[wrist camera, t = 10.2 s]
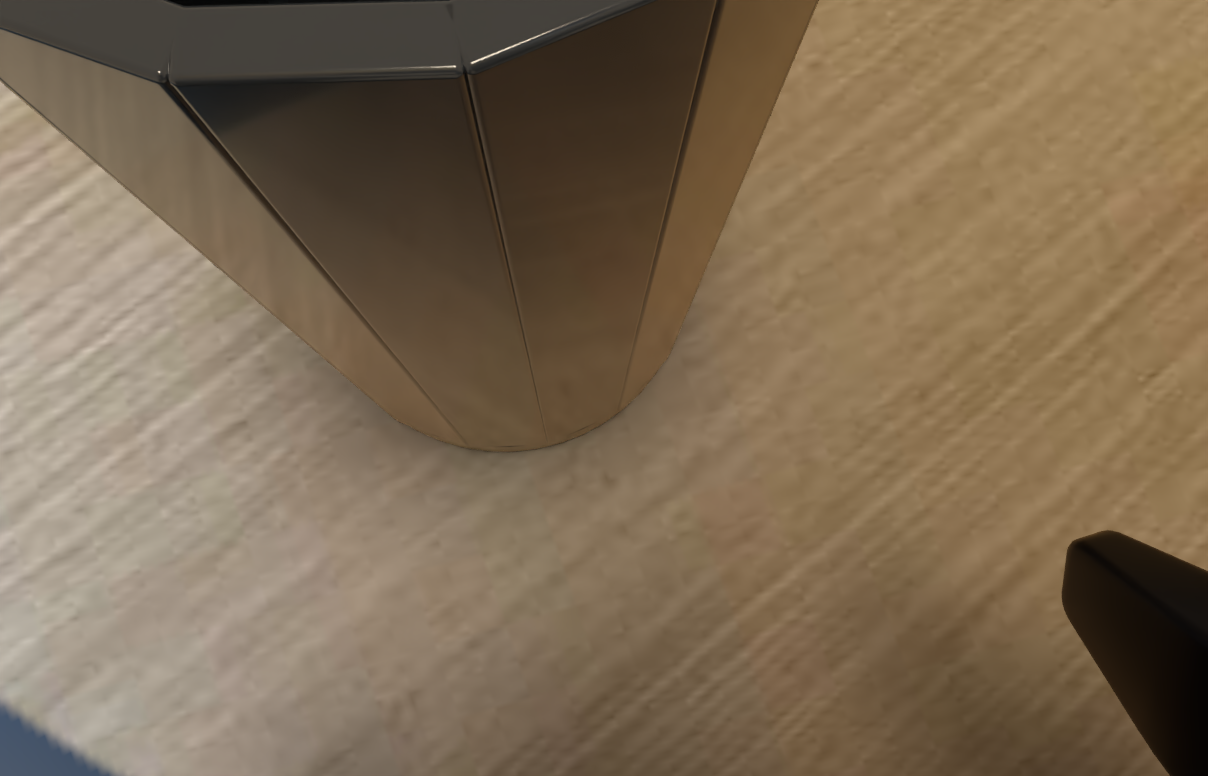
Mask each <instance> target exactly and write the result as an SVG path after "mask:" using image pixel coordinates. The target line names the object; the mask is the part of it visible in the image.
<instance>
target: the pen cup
mask: <svg viewBox="0 0 1208 776" xmlns="http://www.w3.org/2000/svg"><path fill="white" fill-rule="evenodd" d="M818 1H819V0H0V82H2V83H3V84H4V85H5V86H6V87H7V88H9V89H10V90H11V91H12V92H13V93H14V94H16V95H17V96H18V97H19V98H20V99H21V100H23V101H24V102H25V103H26V104H27V105H28V106H30V107H31V108H32V109H33V110H34V111H35V112H37V113H38V114H39V115H40V116H41V117H42V118H44V119H45V120H46V121H47V122H48V123H49V124H51V125H52V126H53V127H54V128H55V129H56V130H58V131H59V132H60V133H61V134H62V135H63V136H65V137H66V138H67V139H68V140H69V141H70V142H72V143H73V144H74V145H75V146H76V147H77V148H79V149H80V150H81V151H82V152H83V153H84V154H86V155H87V156H88V157H89V158H90V159H91V160H93V161H94V162H95V163H96V164H97V165H98V166H100V167H101V168H102V169H103V170H104V171H105V172H107V173H108V174H109V175H110V176H111V177H112V178H114V179H115V180H116V181H117V182H118V183H119V184H121V185H122V186H123V187H124V188H125V189H126V190H128V191H129V192H130V193H131V194H132V195H133V196H135V197H136V198H137V199H138V200H139V201H140V202H142V203H143V204H144V205H145V206H146V207H147V208H149V209H150V210H151V211H152V212H153V213H154V214H156V215H157V216H158V217H159V218H160V219H161V220H163V221H164V222H165V223H166V224H167V225H168V226H170V227H171V228H172V229H173V230H174V231H175V232H177V233H178V234H179V235H180V236H181V237H182V238H184V239H185V240H186V241H187V242H188V243H189V244H191V245H192V246H193V247H194V248H195V249H196V250H198V251H199V252H200V253H201V254H202V255H203V256H205V257H206V258H207V259H208V260H209V261H210V262H212V263H213V264H214V265H215V266H216V267H217V268H219V269H220V270H221V271H222V272H223V273H224V274H226V275H227V276H228V277H229V278H230V279H231V280H233V281H234V282H235V283H236V284H237V285H238V286H240V287H241V288H242V289H243V290H244V291H245V292H247V293H248V294H249V295H250V296H251V297H252V298H254V299H255V300H256V301H257V302H258V303H259V304H261V305H262V306H263V307H264V308H265V309H266V310H268V311H269V312H270V313H271V314H272V315H273V316H275V317H276V318H277V319H278V320H279V321H280V322H282V323H283V324H284V325H285V326H286V327H287V328H289V329H290V330H291V331H292V332H293V333H294V334H296V335H297V336H298V337H299V338H300V339H301V340H303V341H304V342H305V343H306V344H307V345H308V346H310V347H311V348H312V349H313V350H314V351H315V352H317V353H318V354H319V355H320V356H321V357H322V358H324V359H325V360H326V361H327V362H328V363H329V364H331V365H332V366H333V367H334V368H335V369H336V370H338V371H339V372H340V373H341V374H342V375H343V376H345V377H346V378H347V379H348V380H349V381H350V382H352V383H353V384H354V385H355V386H356V387H357V388H359V389H360V390H361V391H362V392H363V393H364V394H366V395H367V396H368V397H369V398H370V399H372V400H373V401H374V402H375V403H376V404H377V405H379V406H380V407H381V408H382V409H383V410H384V411H386V412H387V413H388V414H389V415H390V416H391V417H393V418H394V419H395V420H397V421H399V422H400V423H403V424H405V425H408V426H410V427H412V428H413V429H415V430H416V431H418V432H421V433H423V434H425V435H428V436H430V437H432V438H434V439H437V440H439V441H442V442H445V443H449V444H452V445H456V446H459V447H463V448H469V449H476V450H482V451H498V452H514V451H524V450H533V449H539V448H543V447H547V446H551V445H555V444H559V443H562V442H565V441H568V440H570V439H573V438H575V437H578V436H581V435H583V434H585V433H587V432H589V431H590V430H592V429H594V428H596V427H598V426H600V425H601V424H603V423H605V422H606V421H608V420H609V419H610V418H612V417H613V416H615V415H616V414H617V413H619V412H620V411H621V410H623V409H624V408H625V407H626V406H627V405H628V404H629V403H630V402H631V401H633V400H634V399H635V398H636V397H637V396H638V395H639V394H640V393H641V392H642V391H643V389H644V388H645V387H646V386H647V384H648V383H649V382H650V381H651V379H652V378H653V377H654V376H655V374H656V373H657V371H658V370H659V368H660V366H661V365H662V364H663V363H664V362H665V361H666V360H667V358H668V356H669V355H670V353H671V351H672V349H673V346H674V344H675V341H676V339H677V337H678V334H679V332H680V329H681V327H682V325H683V322H684V320H685V318H686V315H687V313H688V310H689V308H690V306H691V303H692V301H693V299H694V296H695V294H696V291H697V289H698V287H699V284H700V282H701V280H702V277H703V275H704V272H705V270H706V268H707V265H708V263H709V261H710V258H711V256H712V253H713V251H714V249H715V246H716V244H717V242H718V239H719V237H720V234H721V232H722V230H723V227H724V225H725V223H726V220H727V218H728V215H729V213H730V211H731V208H732V206H733V204H734V201H735V199H736V196H737V194H738V192H739V189H740V187H741V184H742V182H743V180H744V177H745V175H746V173H747V170H748V168H749V165H750V163H751V161H752V158H753V156H754V154H755V151H756V149H757V146H758V144H759V142H760V139H761V137H762V135H763V132H764V130H765V127H766V125H767V123H768V120H769V118H770V116H771V113H772V111H773V108H774V106H775V104H776V101H777V99H778V97H779V94H780V92H781V89H782V87H783V85H784V82H785V80H786V78H787V75H788V73H789V70H790V68H791V66H792V63H793V61H794V59H795V56H796V54H797V51H798V49H799V47H800V44H801V42H802V39H803V37H804V35H805V32H806V30H807V28H808V25H809V23H810V20H811V18H812V16H813V13H814V11H815V9H816V6H817V4H818Z"/></svg>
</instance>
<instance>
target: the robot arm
mask: <svg viewBox="0 0 1208 776" xmlns="http://www.w3.org/2000/svg"><path fill="white" fill-rule="evenodd" d="M1062 602H1063V607H1064V610H1065V612H1066V615H1067V617H1068V619H1069V620H1070V622H1071V624H1072V625H1073V627H1074V629H1075V630H1076V632H1077V633H1078V635H1079V637H1080V638H1081V640H1082V641H1083V643H1084V645H1085V646H1086V648H1087V649H1088V651H1089V653H1090V654H1091V656H1092V657H1093V659H1094V660H1095V662H1096V664H1097V665H1098V667H1099V668H1100V670H1101V672H1102V673H1103V675H1104V676H1105V678H1106V680H1107V681H1108V683H1109V684H1110V686H1111V688H1112V689H1113V691H1114V692H1115V694H1116V696H1117V697H1118V699H1119V700H1120V702H1121V704H1122V705H1123V707H1124V708H1125V710H1126V712H1127V713H1128V715H1129V716H1130V718H1131V720H1132V721H1133V723H1134V724H1135V726H1136V727H1137V729H1138V731H1139V732H1140V734H1141V735H1142V737H1143V738H1144V740H1145V741H1146V743H1147V744H1148V746H1149V747H1150V749H1151V750H1152V752H1153V753H1154V755H1155V756H1156V757H1157V759H1158V760H1159V761H1160V763H1161V764H1162V765H1163V767H1164V768H1165V770H1166V771H1167V772H1168V774H1169V775H1170V776H1208V571H1206V570H1204V569H1201V568H1199V567H1197V566H1195V565H1192V564H1190V563H1188V562H1185V561H1183V560H1181V559H1179V558H1176V557H1174V556H1172V555H1169V554H1167V553H1165V552H1163V551H1160V550H1158V549H1156V548H1153V547H1151V546H1149V545H1147V544H1144V543H1142V542H1140V541H1138V540H1135V539H1133V538H1131V537H1128V536H1126V535H1124V534H1121V533H1119V532H1115V531H1108V530H1106V531H1101V532H1097V533H1094V534H1091V535H1088V536H1085V537H1082V538H1079V539H1076V540H1074V541H1072V543H1071V544H1070V545H1069V547H1068V550H1067V555H1066V563H1065V571H1064V579H1063V587H1062Z"/></svg>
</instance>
